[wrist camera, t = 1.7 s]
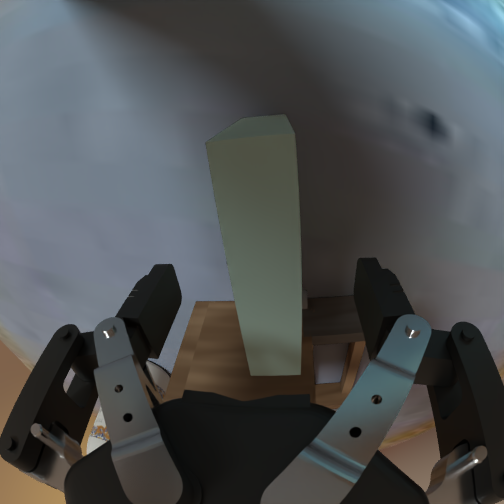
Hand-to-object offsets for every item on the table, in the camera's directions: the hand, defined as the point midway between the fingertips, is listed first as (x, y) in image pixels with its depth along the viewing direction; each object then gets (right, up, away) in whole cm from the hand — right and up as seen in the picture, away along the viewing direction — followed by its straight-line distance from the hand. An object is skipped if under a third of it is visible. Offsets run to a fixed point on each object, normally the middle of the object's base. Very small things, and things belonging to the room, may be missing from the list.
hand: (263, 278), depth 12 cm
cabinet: (+3, -9, +14) cm, 17 cm away
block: (+1, +4, +6) cm, 7 cm away
